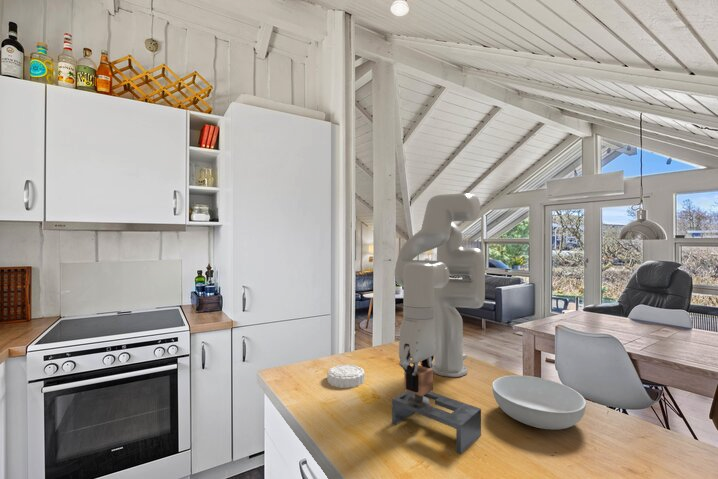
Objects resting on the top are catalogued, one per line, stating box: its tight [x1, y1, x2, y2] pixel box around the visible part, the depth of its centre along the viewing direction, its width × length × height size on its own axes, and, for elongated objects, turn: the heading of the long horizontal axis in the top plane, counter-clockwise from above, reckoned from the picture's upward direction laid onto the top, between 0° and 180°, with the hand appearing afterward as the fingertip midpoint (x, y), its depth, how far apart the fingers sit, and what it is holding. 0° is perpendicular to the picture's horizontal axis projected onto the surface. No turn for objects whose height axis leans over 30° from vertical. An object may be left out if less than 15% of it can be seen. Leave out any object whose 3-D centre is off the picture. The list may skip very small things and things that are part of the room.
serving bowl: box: [491, 374, 587, 430], centre depth 86 cm, size 21×21×7 cm
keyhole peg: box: [403, 364, 434, 408], centre depth 84 cm, size 5×5×8 cm
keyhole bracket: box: [391, 391, 482, 455], centre depth 81 cm, size 18×10×6 cm, turn 47°
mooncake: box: [326, 364, 366, 389], centre depth 110 cm, size 12×12×4 cm
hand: (418, 386), depth 84 cm, fingers closed on keyhole peg, 5 cm apart
